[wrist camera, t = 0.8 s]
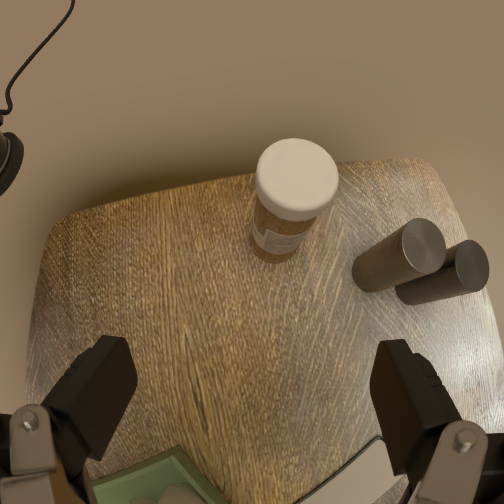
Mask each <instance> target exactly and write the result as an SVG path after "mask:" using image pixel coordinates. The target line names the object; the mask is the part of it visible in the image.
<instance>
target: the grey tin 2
mask: <svg viewBox="0 0 504 504" xmlns="http://www.w3.org/2000/svg"><path fill="white" fill-rule="evenodd" d="M488 277H489V263H488V259H487V256H486V253H485V251H484V250H483V248H482V247H481V246H480V245H479V244H478V243H477V242H475V241H473V240H465V241H463V242H461V243H459V244H457V245H455V246H453V247H450V248H448V249H446V257H445V260H444V263H443V265H442V266H441V268H440V269H439V270H438V271H436V272H434V273H432V274H429V275H426V276H423V277H420V278H417V279H415V280H412V281H409V282H406V283H403V284H400V285H397V286H396V292H397V295H398V297H399V298H400V299H401V301H402V302H404V303H405V304H407V305H417V304H422V303H427V302H432V301H437V300H442V299H447V298H451V297H456V296H460V295H464V294H469V293H473V292H477V291H480V290H481V289H483V288H484V286H485V285H486V283H487V281H488Z"/></svg>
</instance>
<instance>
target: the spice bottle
mask: <svg viewBox="0 0 504 504" xmlns="http://www.w3.org/2000/svg"><path fill="white" fill-rule="evenodd" d="M157 504H208V503H207V502H206V501H205V500H204V499H203V497H202V496H201V495H200V494H199V493H198V492H197V491H196V490H195V489H194V488H193V486H192V485H190V484H185V483H177V484H172V485H170V486H168V487H167V488H166V489H165V490H164V491H163V493H162V495H161V497H160V499H159V501H158V503H157Z"/></svg>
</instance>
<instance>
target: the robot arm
mask: <svg viewBox="0 0 504 504" xmlns="http://www.w3.org/2000/svg"><path fill="white" fill-rule="evenodd" d="M71 1H72V2H71V6H70V9H69V11H68V13H67V14H66V15H65V17H64V18H63V19H62V21H61V22H60V23H59V24H58V25H57V27H56V28H55V29H54V30H53V31H52V32H51V33H50V34H49V36H48V37H47V38H46V39H45V40H44V41H43V42H42V43H41V44H40V45H39V47H38V48H37V49H36V50H35V51H34V52H33V53H32V55H31V56H30V57H29V58H28V59H27V60H26V62H25V63H24V64H23V65H22V66H21V68H20V69H19V70H18V71H17V73H16V74H15V75H14V76H13V78H12V79H11V81H10V83H9V85H8V86H7V89H6V93H5V97H6V101H7V104H8V109H7V110H0V126H1V125H2V124H3V116H2V115H8V114H9V113H10V112H11V111H12V108H13V107H12V101H11V98H10V89H11V87H12V85H13V83H14V82H15V80H16V79H17V77H18V76H19V75H20V74H21V72H22V71H23V70H24V69H25V67H26V66H27V65H28V64H29V63H30V61H31V60H32V59H33V58H34V57H35V55H36V54H37V53H38V52H39V51H40V49H42V47H43V46H44V45H45V44H46V43H47V42H48V41H49V40H50V38H51V37H52V36H53V35H54V34H55V33H56V32H57V31H58V29H59V28H60V27H61V26H62V25H63V24H64V22H65V21H66V20H67V18H68V17H69V15H70V14H71V12H72V10H73V7H74V4H75V0H71ZM11 152H12V144H11V142H10V140H9V139H8V138H7V137H5V135H4V134H3V133H2V132H1V131H0V176H1V175H2V174H3V172H4V170H5V169H6V167H7V165H8V162H9V160H10V157H11ZM137 381H138V377H137V372H136V368H135V365H134V362H133V359H132V356H131V353H130V349H129V346H128V343H127V340H126V339H125V338H123V337H116V336H107V335H103V336H101V337H100V338H99V340H98V341H97V342H96V343H95V345H94V346H93V347H92V348H89V349H87V350H86V351H84V352H83V353H81V354H80V355H78V356H77V358H76V359H75V360H74V361H73V363H72V364H71V365H70V368H68V369H67V370H66V372H65V373H64V376H62V377H61V378H60V379H59V381H58V382H57V383H56V384H55V386H54V387H53V388H52V390H51V391H50V392H49V394H48V395H47V396H46V398H45V399H44V400H43V402H42V403H41V404H40V405H39V404H28V405H25V406H22V407H21V408H19V409H18V410H16V412H15V413H14V414H13V415H9V414H0V504H98V501H97V498H96V496H95V493H94V490H93V487H92V483H91V480H90V477H89V474H88V470H87V467H86V466H85V464H84V463H85V461H86V459H87V457H88V458H91V459H94V460H97V461H101V459H102V457H103V455H104V453H105V451H106V449H107V447H108V445H109V443H110V440H111V438H112V436H113V434H114V432H115V430H116V428H117V426H118V424H119V422H120V420H121V418H122V416H123V414H124V412H125V410H126V408H127V406H128V404H129V402H130V400H131V398H132V396H133V394H134V392H135V390H136V387H137ZM370 395H371V398H372V401H373V405H374V408H375V411H376V414H377V418H378V421H379V424H380V428H381V431H382V435H383V438H384V442H385V445H386V449H387V452H388V456H389V460H390V463H391V467H392V471H393V475H394V476H399V475H403V474H407V477H408V480H409V481H408V483H407V484H406V486H405V488H404V490H403V492H402V493H401V495H400V497H399V499H398V501H397V503H396V504H504V433H493V434H486V433H485V431H484V430H483V429H482V428H481V427H480V426H479V425H477V424H476V423H474V422H471V421H466V420H462V418H461V416H460V414H459V412H458V410H457V408H456V407H455V405H454V403H453V401H452V399H451V397H450V396H449V394H448V392H447V390H446V388H445V387H444V385H442V381H441V380H440V378H439V376H437V373H436V371H435V369H434V368H433V366H432V364H431V363H430V362H429V361H428V360H427V359H426V358H424V357H423V356H422V355H421V354H419V353H414V354H413V353H412V351H411V349H410V348H409V346H408V344H407V342H406V341H405V340H404V339H397V340H386V341H380V343H379V345H378V348H377V353H376V357H375V361H374V365H373V369H372V373H371V377H370Z"/></svg>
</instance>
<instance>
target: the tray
mask: <svg viewBox="0 0 504 504" xmlns="http://www.w3.org/2000/svg"><path fill="white" fill-rule="evenodd" d="M91 483H92V487H93V490H94V493H95V496H96V498H97V501H98V504H129V502H130V501H131V500H132V499H134V498H138V497H145V498H150V499H153V500H155V501H157V502H158V501H159V499H160V497H161V495H162V493H163V491H164V490H165V489H166V488H167V487H168V486H170V485H172V484H177V483H185V484H190V485H192V486H193V488H194V489H195V490H196V491H197V492H198V493H199V494H200V495H201V496H202V497H203V499H204V500H205V501H206V502H207V503H208V504H229V503H228V502H227V501H226V500H225V499H224V498H223V497H222V496H221V495H220V494H219V492H218V491H217V490H216V489H215V488H214V487H213V486H212V485H211V484H210V483H209V481H208V480H207V479H206V478H205V477H204V476H203V474H202V473H201V472H200V471H199V470H198V469H197V467H196V466H195V465H194V464H193V463H192V461H191V460H190V459H189V458H188V456H187V455H186V454H185V453H184V451H183V450H182V449H181V447H180V446H179V445H178V446H176V447H174V448H172V449H170V450H168V451H165V452H163V453H161V454H159V455H157V456H155V457H152V458H150V459H148V460H145V461H143V462H141V463H139V464H136V465H134V466H131V467H129V468H126V469H124V470H121V471H119V472H116V473H114V474H111V475H108V476H106V477H103V478H100V479H97V480H95V481H92V482H91Z"/></svg>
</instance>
